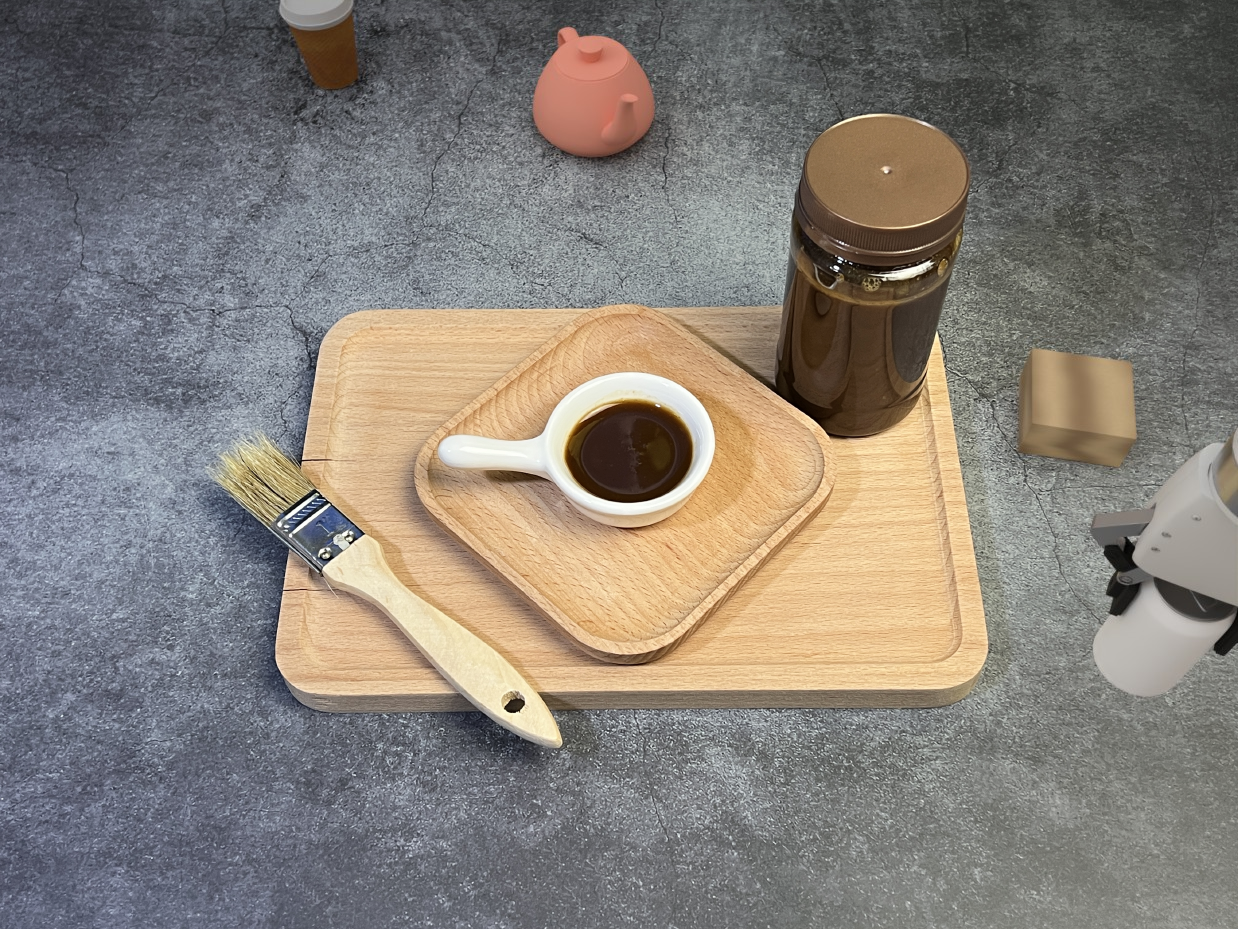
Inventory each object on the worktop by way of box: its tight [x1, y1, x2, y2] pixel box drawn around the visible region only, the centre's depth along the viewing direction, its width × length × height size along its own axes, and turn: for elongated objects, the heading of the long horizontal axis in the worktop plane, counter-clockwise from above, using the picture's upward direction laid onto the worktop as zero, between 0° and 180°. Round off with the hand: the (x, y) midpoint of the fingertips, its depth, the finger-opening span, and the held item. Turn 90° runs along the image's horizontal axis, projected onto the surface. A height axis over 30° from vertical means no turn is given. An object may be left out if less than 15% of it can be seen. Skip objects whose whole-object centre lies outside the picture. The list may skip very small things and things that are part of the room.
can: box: [1092, 576, 1238, 697], centre depth 79 cm, size 6×6×12 cm
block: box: [1017, 347, 1138, 468], centre depth 113 cm, size 10×10×5 cm
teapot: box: [532, 26, 656, 158], centre depth 138 cm, size 22×16×12 cm
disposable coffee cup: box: [278, 0, 360, 90], centre depth 146 cm, size 10×10×12 cm
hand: (1169, 617), depth 79 cm, fingers closed on can, 6 cm apart
